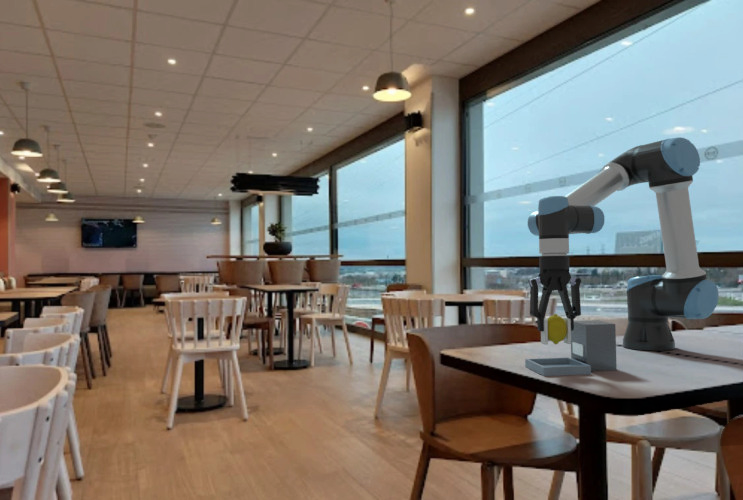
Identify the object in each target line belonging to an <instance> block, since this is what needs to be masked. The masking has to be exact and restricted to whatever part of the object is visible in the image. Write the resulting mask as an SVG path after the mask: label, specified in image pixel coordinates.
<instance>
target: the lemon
mask: <svg viewBox="0 0 743 500" xmlns="http://www.w3.org/2000/svg"><path fill="white" fill-rule="evenodd" d="M563 318H564V317H562V316H559V315H558V314H557V313H554V314H552V315H550V316H549V317H548V318H546V319H547V322H548V341H550V342H552V343H553V344H554V345H558V344H559V343H560V342H562V341H564V338H565V336H566V333H567V327H566V323H565V321H564V319H563Z"/></svg>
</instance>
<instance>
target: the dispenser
mask: <svg viewBox="0 0 743 500" xmlns="http://www.w3.org/2000/svg"><path fill="white" fill-rule="evenodd" d="M616 330H617V329H616V323H612V322H608V321H603V320H599V319H598V320H597V319H596V320H593V319H592V320H574V330H573V331H571V344H570V356H571V357H570V358H572V359H574V360H577V361H580V362H582V363H585V364H587V365H590V366H591V372H600V371H601V372H602V371H603V372H605V371H617V337H616V334H617V332H616Z"/></svg>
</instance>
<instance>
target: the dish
mask: <svg viewBox="0 0 743 500" xmlns="http://www.w3.org/2000/svg"><path fill="white" fill-rule="evenodd" d="M524 364H525V368H527V369H529V370H531V371H533V372H535V373H537V374H539V375H542V376H543V377H551V376H578V375H580V376H581V375H592V371H591V366H590V365H587V364H585V363H582V362H580V361H577V360H574V359H572V358H571V357H545V358H540V357H538V358H525V359H524Z"/></svg>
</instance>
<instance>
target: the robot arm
mask: <svg viewBox="0 0 743 500" xmlns="http://www.w3.org/2000/svg"><path fill="white" fill-rule="evenodd" d="M700 166H701V157H700V154H699V151H698V149H697V147H696V145H694V143H692V141H690V139H688V138H685V137H672V138H666V139H663V140H659V141H658V140H657V141H653V142H650V143H647V144H640V145H636V146H634V147H632V148H630V149H628V150H626V151H625V152H622V153H621V154H620V155H617V156H616V157H615V158H614V159H612V160H610V161H609V162H607V163H606V164H605V165H604V166H603V167H602V168H601V171H600V172H598V173H597V174H595V175H594V176H592V177H591V178H589V179H588V180H587V181H585V182H584V183H583V184H581V185H579V186H577V188H575V189H574V190H572V191H570V192H569V193H567V194H566V195H565V196H563V195H553V196H551V195H550V196H549V195H548V196H543V197H541V198H540V199H539V200H538V208H537V210H536V211H533V212H532V213H530V215H529V216H528V219H527V229H528V230H529V232H530V233H531V234H532V235H533V236H536V237H538V253H539V254H540V256H539V258H538V259H539V260H538V261H539V263H538V264H539V274H538V276H537V277H535V278H528V282H527V283H528V285H529V287H530V288H529V289H530V290H529V291H530V292H529V293H530V295H529V315H530V316H531V317H534V318H536V323H537V325H536V326H537V332H540V344H542V345H546V346H547V345H549V339H548V322H547V319H548V318H545V317H546V314H547V313H546V312H547V308H548V305H549V301H550V298H551V295H552V293H553V292H554V291H557V293H558V295H559V297H560V300H561V304H562V307H563V311H564V314H565V316H566V317H562V318H563V319H564V321H565V323H566V327H567V333H566V336H565V338H564V339H563V343H565V344H568V345H571V331H573V330H574V321H575V319H576V317H579V316H581V315H582V308H581V307H582V306H581V293H580V290H581V289H580V286H581V283H582V279H581V278H578V277H574V276H571V273H570V257H569V255H568V254H569V253H570V235H576V234H577V235H578V234H585V235H586V234H587V235H589V234H596V233H599V232H600V231H601V230H602V229H603V227H604V225H605V214H604V212H603V210H602V209H601V208H600V207H598V206H597V205H598V204H599V203H601V202H602V201H603V200H605V199H607V198H608V197H609V196H611V195H612V194H614V193H616V192H619V191H624V190H625V189H627V188H629V187H630V186H633V185H638V184H643V183H648V188H649V189H650V190H651V191H653V192H654V193H655V197H656V204H657V205H656V206H657V212H658V219H659V224H660V225H659V226H660V232H661V239H662V247H663V252H664V260H665V269H666V270H665V272H664V273H663V274H655V275H644V276H643V275H642V276H635V277H630V278H629V279H628V280H627V283H626V286H627V287H626V288H627V289H626V304H627V325H626V328H625V332H624V334H623V338H622V347H624V348H625V349H626V348H627V349H631V350H639V351H654V352H655V351H663V352H664V351H671V350H675V349H676V342H675V339H674V336H673V333H672V331H671V328H670V325H669V317H671V318H677V319H678V318H681V319H688V320H703V319H707V318H708V317H710V316H711V315H712V314H713V313H714V312H715V309H716V308H717V306H718V302H719V289H718V286H717V285H716V284H715V282H714V281H712V280H710V279H707V273H706V271H705V270H703V269H702V268H701V267H700V265H699V264H700V263H699V257H698V256H699V255H698V250H697V242H696V236H695V235H696V234H695V230H694V229H695V228H694V222H693V214H692V209H691V208H692V206H691V200H690V192H689V187H690V185H692V183H693V182H694V179H693V178H694V177H693V176H694V175H696V174H697V172H699V169H700ZM540 284H542V286H543V287H542V289H541V292H542V293H541V297H540V300H539V285H540ZM568 284H570V297H571V300H570V297H569V293H568V292H569V291H568V287H567V285H568ZM539 301H540V302H539Z"/></svg>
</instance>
